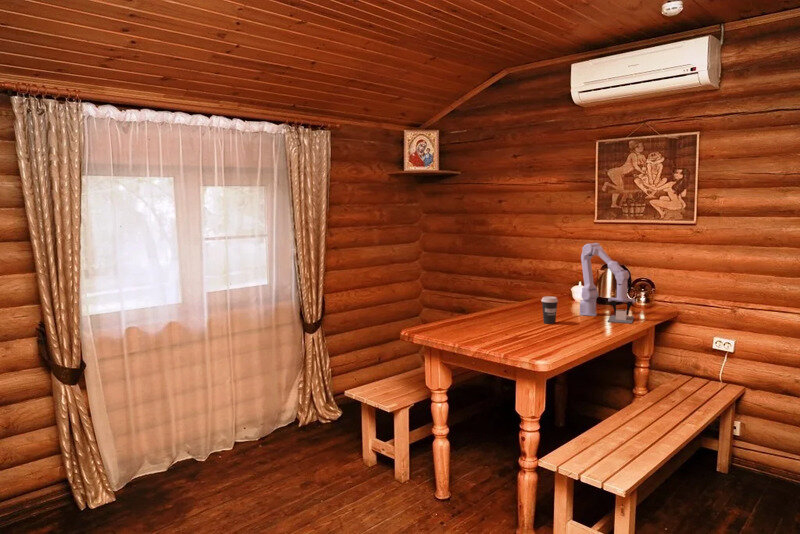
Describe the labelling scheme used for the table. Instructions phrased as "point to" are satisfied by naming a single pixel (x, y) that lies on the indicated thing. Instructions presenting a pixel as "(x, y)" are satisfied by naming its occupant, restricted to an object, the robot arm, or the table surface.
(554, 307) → the coffee cup
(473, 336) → the table surface
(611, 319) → the duct board
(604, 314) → the table surface
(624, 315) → the collar
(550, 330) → the table surface
